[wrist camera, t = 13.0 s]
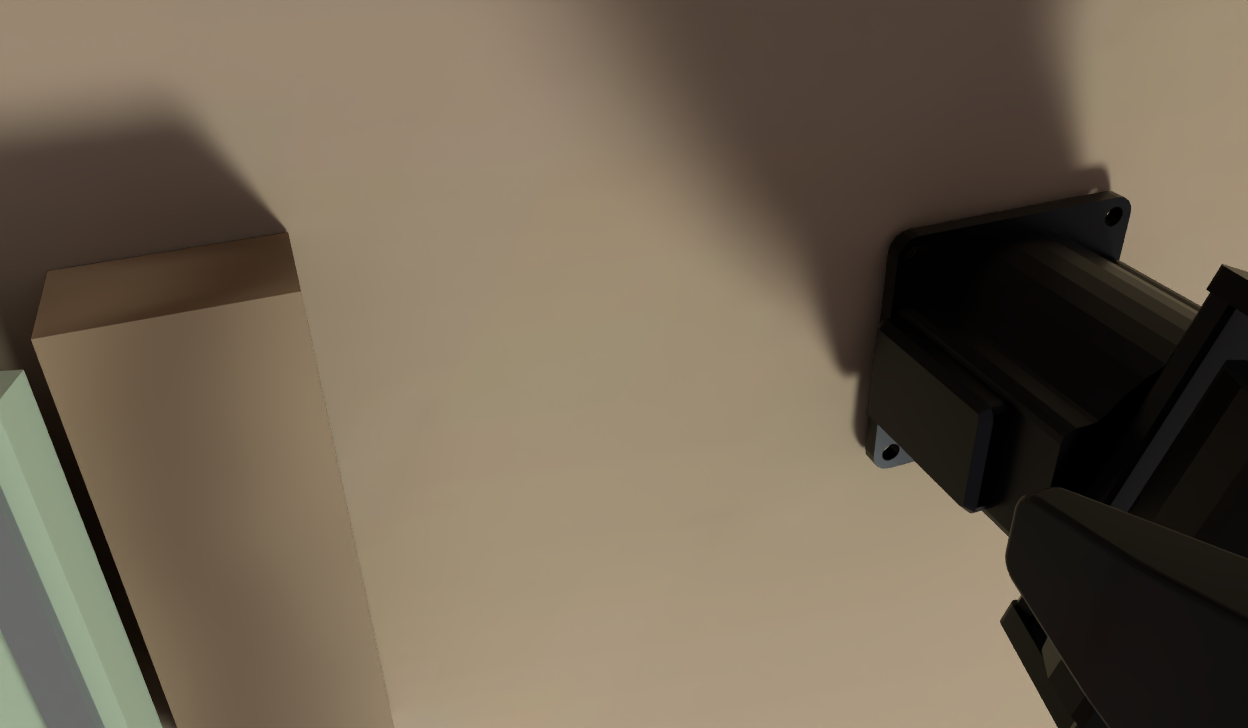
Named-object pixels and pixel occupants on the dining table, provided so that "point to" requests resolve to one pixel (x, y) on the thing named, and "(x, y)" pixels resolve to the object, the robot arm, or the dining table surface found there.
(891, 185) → the dining table surface
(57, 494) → the trapdoor
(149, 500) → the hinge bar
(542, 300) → the dining table surface
